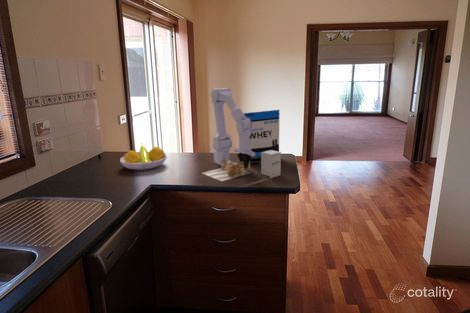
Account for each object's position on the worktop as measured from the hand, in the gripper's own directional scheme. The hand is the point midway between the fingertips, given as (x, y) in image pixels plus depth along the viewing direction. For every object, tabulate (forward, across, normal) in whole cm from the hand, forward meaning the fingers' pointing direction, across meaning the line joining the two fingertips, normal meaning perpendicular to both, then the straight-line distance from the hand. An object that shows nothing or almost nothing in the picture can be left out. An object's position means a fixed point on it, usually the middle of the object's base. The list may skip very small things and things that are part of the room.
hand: (244, 167), depth 178 cm
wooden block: (+2, 0, +4) cm, 4 cm away
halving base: (+3, +5, +8) cm, 10 cm away
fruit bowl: (+4, +51, +34) cm, 61 cm away
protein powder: (+4, +10, -23) cm, 25 cm away
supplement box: (+4, -12, -8) cm, 15 cm away
